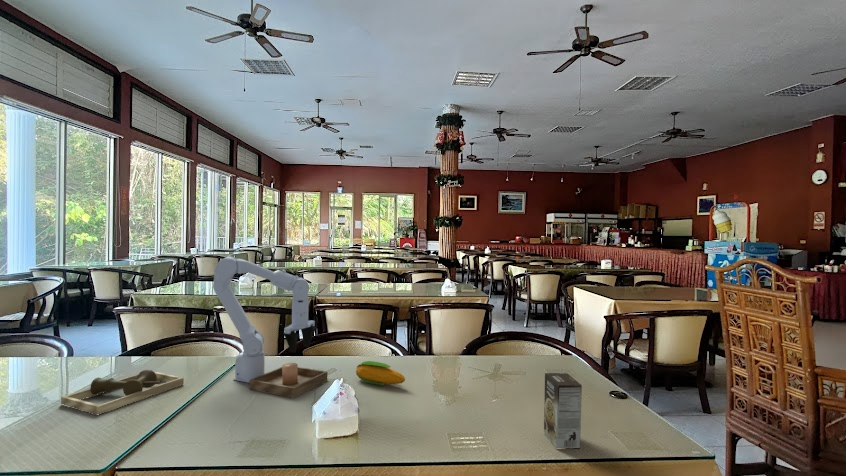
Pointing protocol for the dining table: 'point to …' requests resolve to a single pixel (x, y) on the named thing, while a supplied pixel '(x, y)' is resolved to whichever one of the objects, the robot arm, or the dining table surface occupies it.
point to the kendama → (125, 383)
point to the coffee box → (562, 410)
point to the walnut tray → (274, 385)
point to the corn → (378, 373)
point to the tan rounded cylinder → (289, 374)
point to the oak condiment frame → (75, 401)
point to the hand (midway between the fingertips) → (299, 349)
